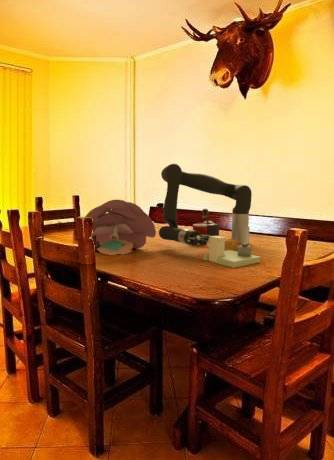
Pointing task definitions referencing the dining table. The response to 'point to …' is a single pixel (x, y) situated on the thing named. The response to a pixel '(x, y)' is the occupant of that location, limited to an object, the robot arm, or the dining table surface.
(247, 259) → the deck
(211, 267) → the dining table surface
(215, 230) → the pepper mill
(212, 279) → the dining table surface
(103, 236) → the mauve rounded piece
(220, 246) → the beige bar
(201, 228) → the canned food
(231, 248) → the croissant
